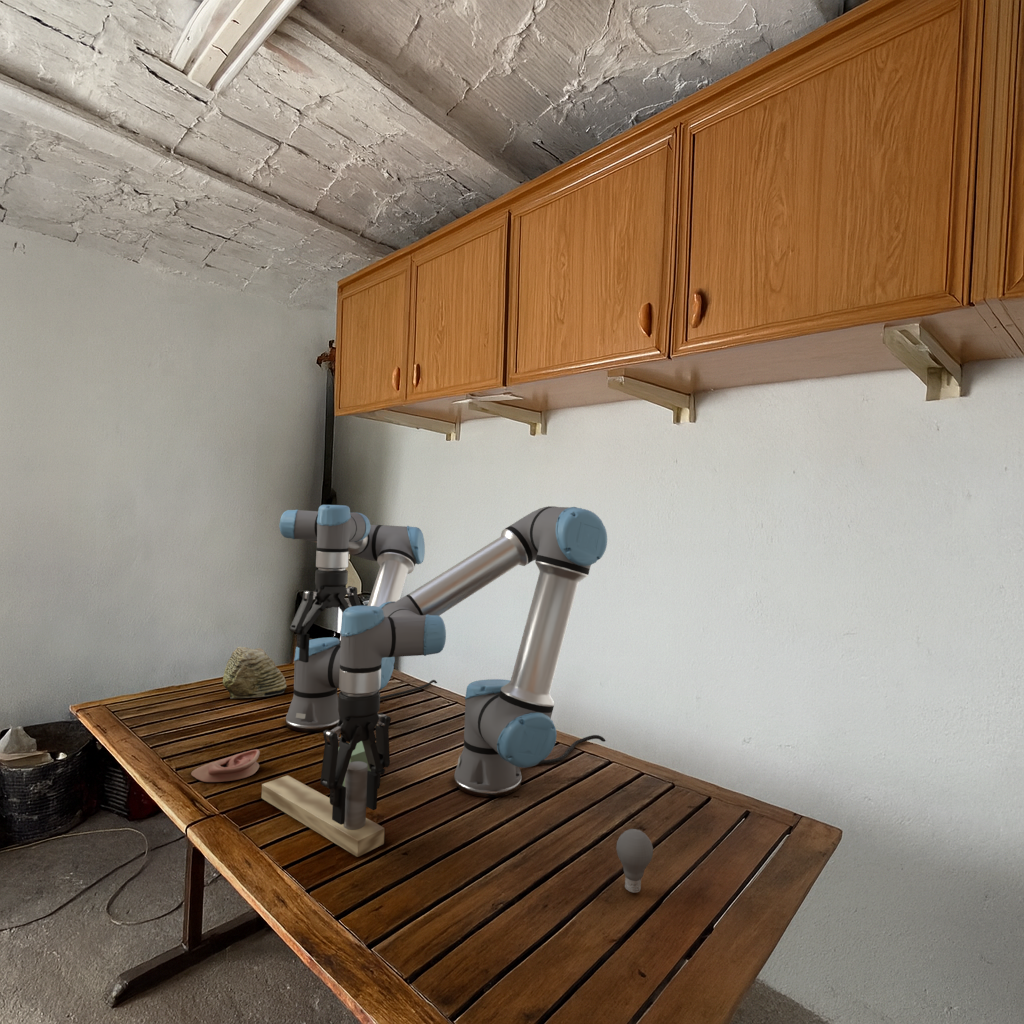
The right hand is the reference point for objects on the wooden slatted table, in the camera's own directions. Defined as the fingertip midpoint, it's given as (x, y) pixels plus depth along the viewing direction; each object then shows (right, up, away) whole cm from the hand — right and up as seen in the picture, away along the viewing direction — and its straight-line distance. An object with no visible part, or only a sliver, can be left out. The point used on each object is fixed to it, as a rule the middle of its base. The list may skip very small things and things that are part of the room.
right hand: (354, 813), depth 117 cm
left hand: (-15, +21, +36) cm, 44 cm away
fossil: (-51, -1, +81) cm, 96 cm away
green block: (-6, -4, +24) cm, 25 cm away
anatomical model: (-36, -3, +26) cm, 44 cm away
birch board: (-9, -4, +7) cm, 12 cm away
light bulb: (+49, -7, -12) cm, 51 cm away
